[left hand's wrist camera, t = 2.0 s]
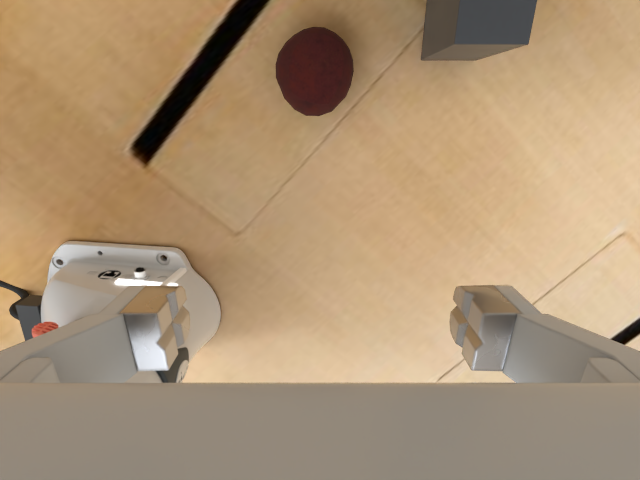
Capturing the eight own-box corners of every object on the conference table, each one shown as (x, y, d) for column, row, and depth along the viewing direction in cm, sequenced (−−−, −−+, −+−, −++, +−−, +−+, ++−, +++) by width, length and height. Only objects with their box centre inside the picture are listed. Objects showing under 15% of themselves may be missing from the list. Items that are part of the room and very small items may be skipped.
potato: (358, 45, 35) (366, 31, 28) (338, 123, 38) (342, 126, 31) (288, 25, 34) (280, 6, 28) (273, 106, 37) (263, 105, 30)
